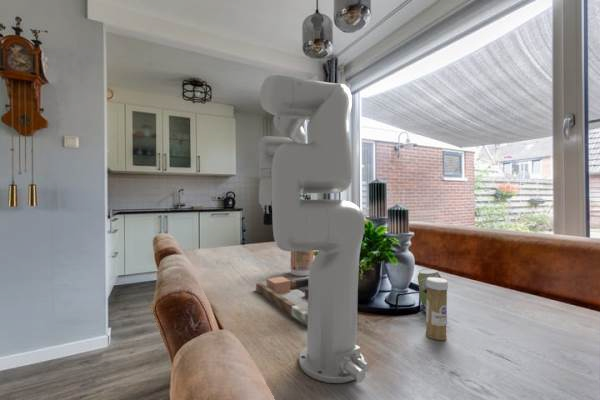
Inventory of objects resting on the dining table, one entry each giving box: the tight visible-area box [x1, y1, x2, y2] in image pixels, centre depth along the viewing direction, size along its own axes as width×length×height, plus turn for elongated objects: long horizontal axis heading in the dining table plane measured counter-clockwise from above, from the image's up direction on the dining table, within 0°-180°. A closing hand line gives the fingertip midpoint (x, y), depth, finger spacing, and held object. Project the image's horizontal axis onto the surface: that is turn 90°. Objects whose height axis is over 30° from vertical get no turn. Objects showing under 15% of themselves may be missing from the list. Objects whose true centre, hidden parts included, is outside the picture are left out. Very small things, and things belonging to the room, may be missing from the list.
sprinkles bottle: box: [425, 277, 449, 341], centre depth 66 cm, size 5×5×14 cm
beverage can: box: [417, 269, 442, 313], centre depth 80 cm, size 6×7×12 cm
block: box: [266, 276, 291, 295], centre depth 97 cm, size 6×6×4 cm
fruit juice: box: [290, 250, 314, 277], centre depth 119 cm, size 9×9×28 cm
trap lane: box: [255, 277, 309, 328], centre depth 89 cm, size 32×22×3 cm
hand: (268, 224), depth 104 cm, fingers closed
